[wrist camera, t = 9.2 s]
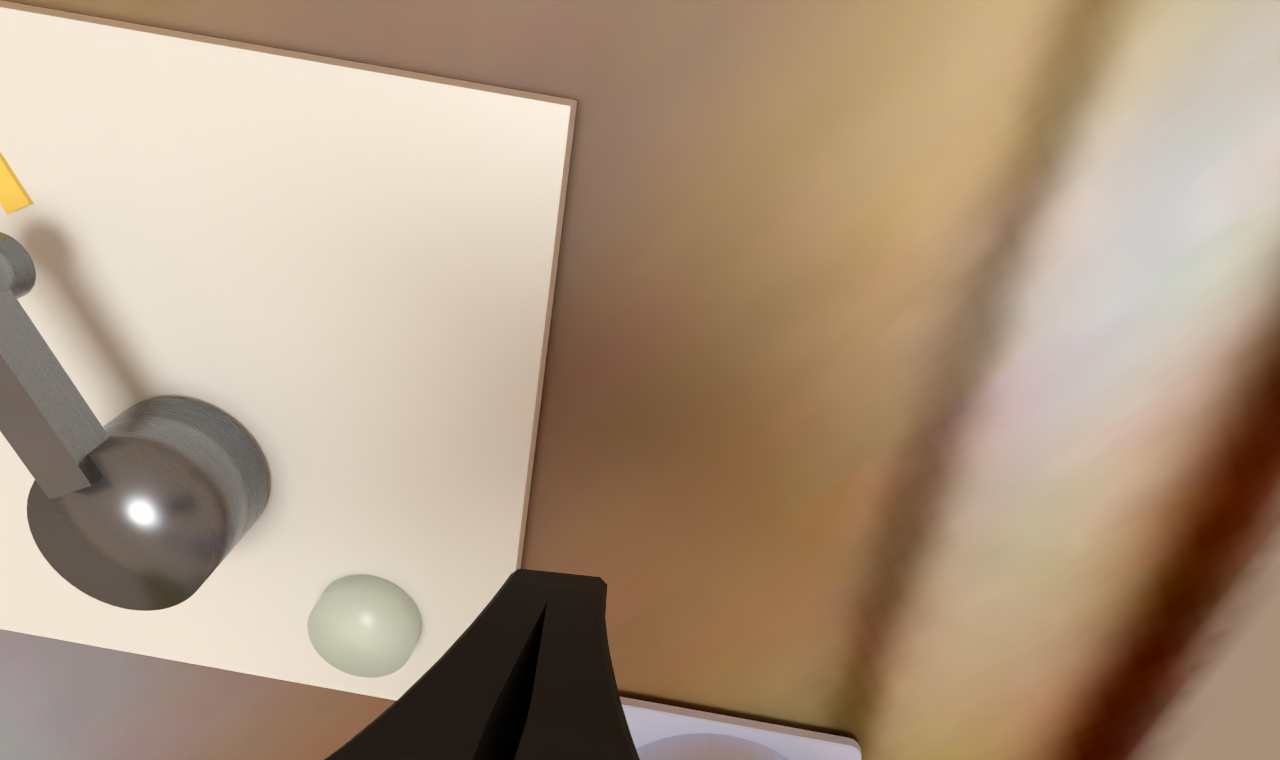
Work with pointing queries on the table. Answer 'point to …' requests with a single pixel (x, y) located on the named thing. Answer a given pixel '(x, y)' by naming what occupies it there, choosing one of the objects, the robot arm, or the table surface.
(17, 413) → the grey crank handle
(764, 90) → the table surface
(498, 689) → the robot arm
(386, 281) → the white paper sheet
